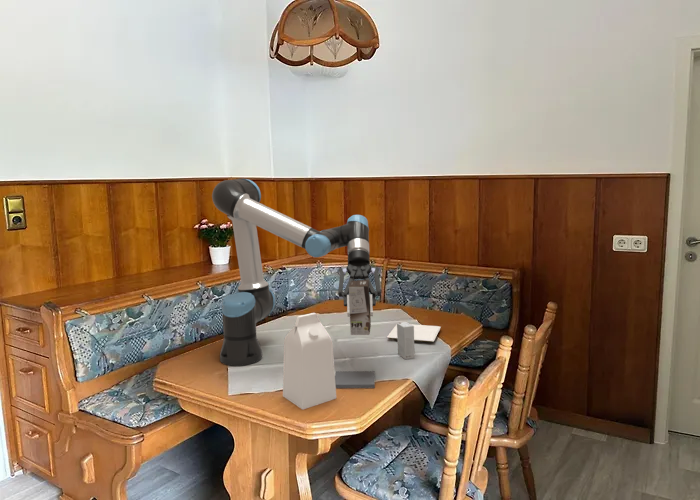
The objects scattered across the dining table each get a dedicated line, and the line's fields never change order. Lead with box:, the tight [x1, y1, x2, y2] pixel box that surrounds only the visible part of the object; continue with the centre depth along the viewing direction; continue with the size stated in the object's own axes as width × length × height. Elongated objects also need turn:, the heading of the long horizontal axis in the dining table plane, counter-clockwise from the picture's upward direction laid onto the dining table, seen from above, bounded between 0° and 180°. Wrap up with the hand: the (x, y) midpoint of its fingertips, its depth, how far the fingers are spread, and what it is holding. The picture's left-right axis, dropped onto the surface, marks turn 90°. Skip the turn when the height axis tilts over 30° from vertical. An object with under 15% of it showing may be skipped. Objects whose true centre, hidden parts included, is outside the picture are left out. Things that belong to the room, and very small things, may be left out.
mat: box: [335, 370, 376, 389], centre depth 178 cm, size 11×13×1 cm
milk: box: [282, 312, 337, 410], centre depth 164 cm, size 12×12×26 cm
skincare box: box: [396, 321, 416, 360], centre depth 198 cm, size 6×4×12 cm
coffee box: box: [349, 279, 372, 336], centre depth 178 cm, size 9×6×16 cm
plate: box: [386, 323, 442, 344], centre depth 221 cm, size 19×19×2 cm
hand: (360, 314), depth 175 cm, fingers closed on coffee box, 7 cm apart
